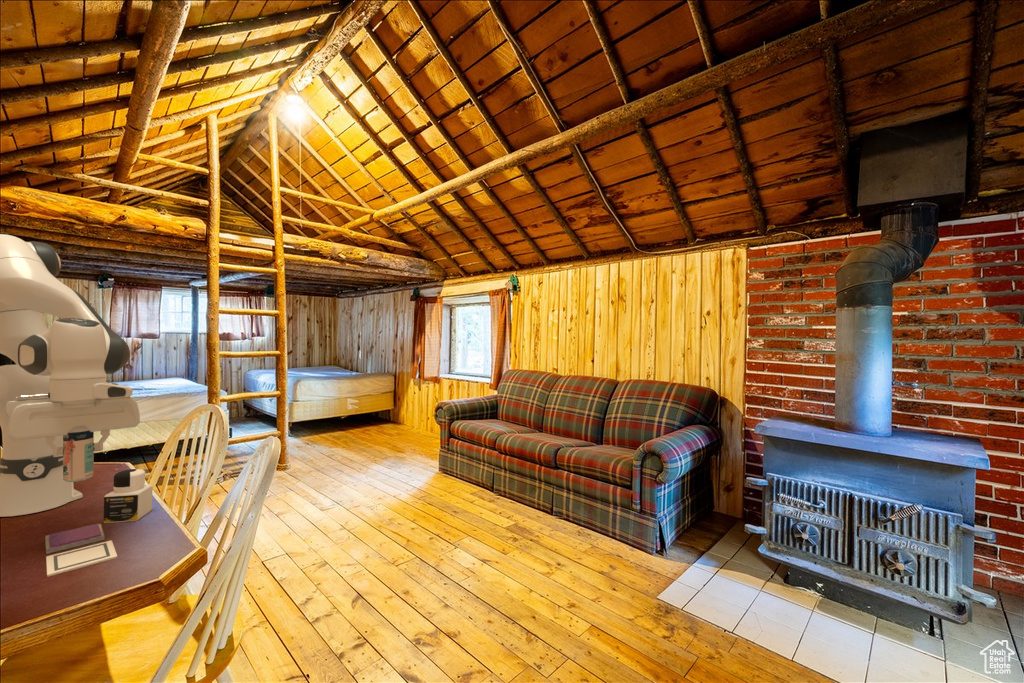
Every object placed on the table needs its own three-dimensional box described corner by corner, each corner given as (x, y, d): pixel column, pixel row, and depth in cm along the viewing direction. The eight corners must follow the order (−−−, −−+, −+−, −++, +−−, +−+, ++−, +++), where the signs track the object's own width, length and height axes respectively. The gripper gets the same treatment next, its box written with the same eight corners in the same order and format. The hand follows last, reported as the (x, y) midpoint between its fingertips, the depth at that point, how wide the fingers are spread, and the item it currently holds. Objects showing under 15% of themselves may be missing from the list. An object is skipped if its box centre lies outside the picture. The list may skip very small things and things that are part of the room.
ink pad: (45, 540, 96) (45, 534, 96) (100, 527, 102) (100, 522, 102) (46, 554, 90) (46, 548, 90) (104, 539, 96) (104, 534, 96)
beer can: (64, 478, 93) (65, 425, 93) (95, 474, 96) (95, 422, 96) (61, 484, 89) (61, 428, 89) (92, 480, 92) (92, 425, 92)
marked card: (46, 558, 88) (46, 556, 88) (111, 542, 96) (111, 539, 96) (47, 576, 81) (47, 574, 81) (117, 557, 89) (117, 555, 89)
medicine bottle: (102, 524, 104) (103, 476, 104) (120, 512, 111) (121, 467, 111) (137, 521, 106) (138, 474, 106) (152, 510, 113) (153, 466, 113)
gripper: (4, 397, 83) (4, 466, 83) (141, 388, 98) (141, 447, 98) (6, 394, 87) (6, 460, 87) (137, 386, 102) (137, 442, 102)
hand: (78, 453), depth 93 cm, fingers closed on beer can, 5 cm apart
